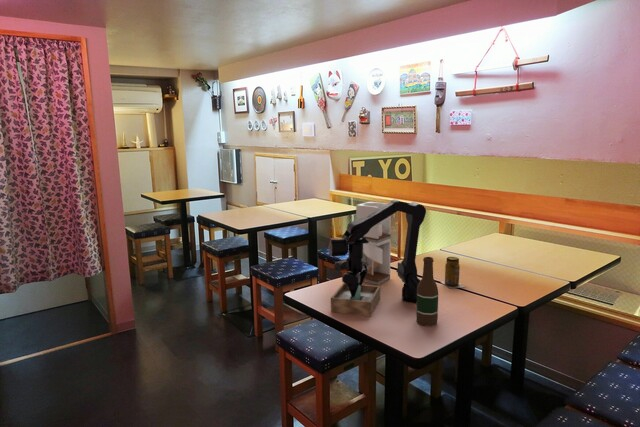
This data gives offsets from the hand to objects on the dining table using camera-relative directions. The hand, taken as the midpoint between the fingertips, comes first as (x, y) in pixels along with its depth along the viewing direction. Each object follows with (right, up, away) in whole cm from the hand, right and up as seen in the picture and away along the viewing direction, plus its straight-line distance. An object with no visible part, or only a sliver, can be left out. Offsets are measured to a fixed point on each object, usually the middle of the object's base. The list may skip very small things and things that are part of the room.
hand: (356, 292), depth 176 cm
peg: (0, -5, +1) cm, 5 cm away
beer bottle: (+24, -8, -15) cm, 30 cm away
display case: (+11, +1, +31) cm, 33 cm away
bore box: (0, -5, +1) cm, 5 cm away
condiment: (+44, -1, +21) cm, 49 cm away
